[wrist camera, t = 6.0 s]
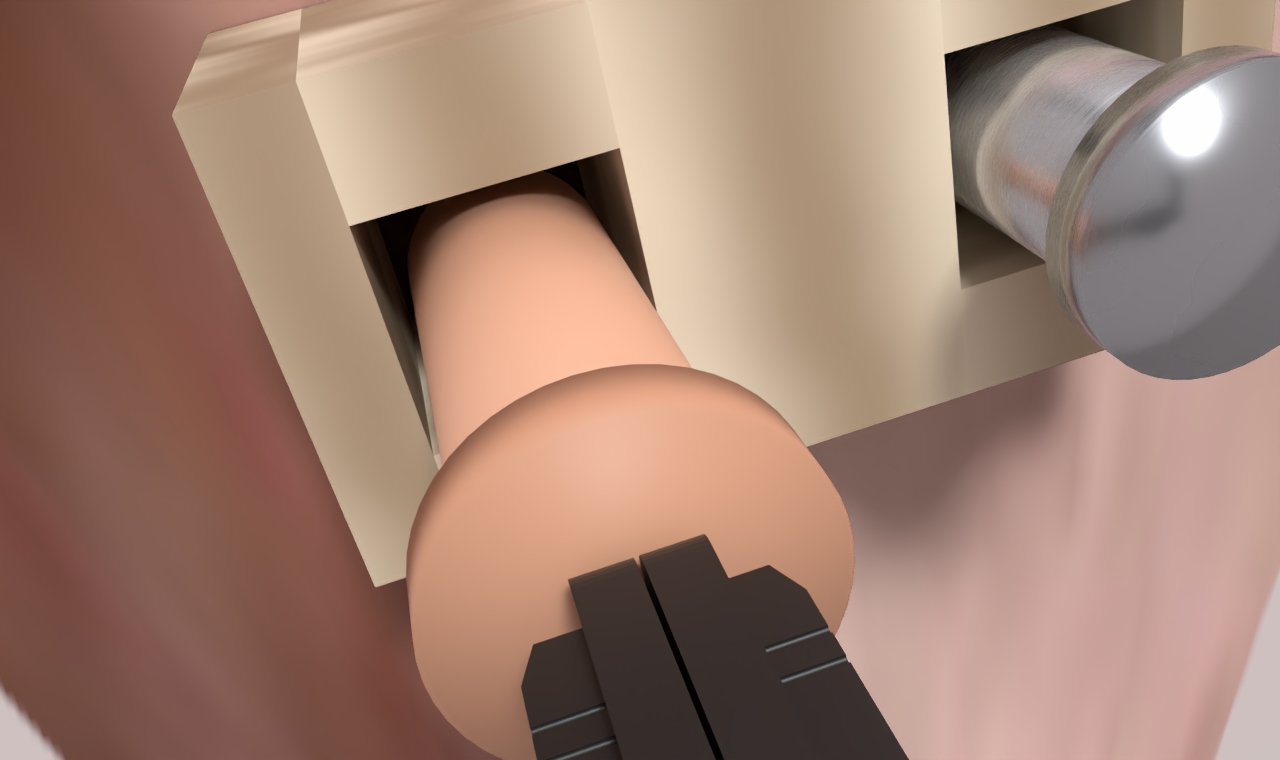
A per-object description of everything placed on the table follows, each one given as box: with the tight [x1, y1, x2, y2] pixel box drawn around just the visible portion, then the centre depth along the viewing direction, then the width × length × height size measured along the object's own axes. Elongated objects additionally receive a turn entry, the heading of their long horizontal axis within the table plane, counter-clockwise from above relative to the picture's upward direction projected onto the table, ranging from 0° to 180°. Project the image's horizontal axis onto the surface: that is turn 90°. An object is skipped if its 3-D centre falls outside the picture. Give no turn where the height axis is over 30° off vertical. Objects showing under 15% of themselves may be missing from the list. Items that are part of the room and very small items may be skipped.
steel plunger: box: [944, 24, 1280, 380], centre depth 21 cm, size 5×5×10 cm
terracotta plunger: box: [406, 171, 855, 760], centre depth 16 cm, size 5×5×10 cm
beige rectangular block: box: [172, 0, 1276, 587], centre depth 22 cm, size 18×9×6 cm, turn 102°
